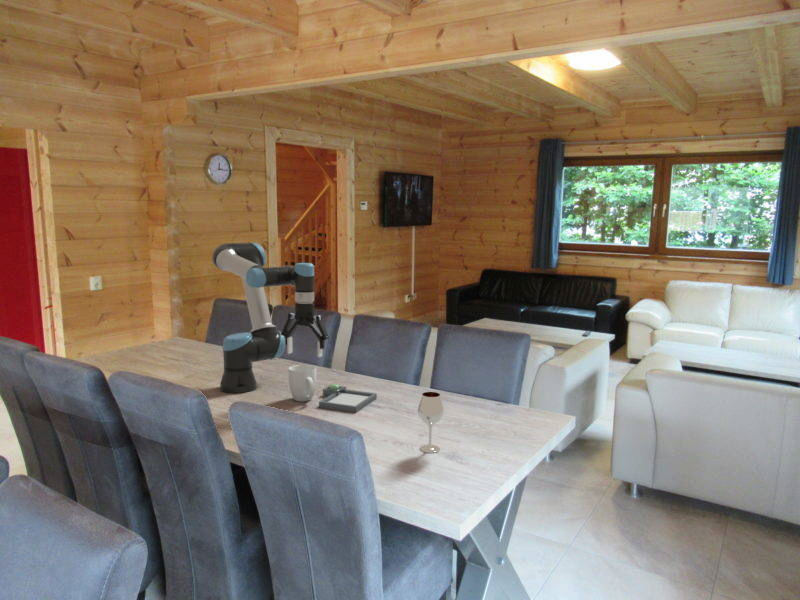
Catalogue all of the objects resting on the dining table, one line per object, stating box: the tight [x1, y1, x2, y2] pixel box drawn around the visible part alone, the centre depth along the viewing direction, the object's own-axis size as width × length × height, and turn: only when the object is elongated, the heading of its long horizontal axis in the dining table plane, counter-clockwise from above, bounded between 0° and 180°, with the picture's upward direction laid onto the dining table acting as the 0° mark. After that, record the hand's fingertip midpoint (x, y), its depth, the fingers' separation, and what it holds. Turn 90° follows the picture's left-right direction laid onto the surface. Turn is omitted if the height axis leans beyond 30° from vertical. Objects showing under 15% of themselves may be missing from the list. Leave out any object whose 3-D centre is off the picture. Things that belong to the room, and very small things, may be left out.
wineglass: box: [417, 391, 445, 454], centre depth 185 cm, size 8×8×18 cm
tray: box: [318, 388, 378, 413], centre depth 232 cm, size 16×19×2 cm
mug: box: [288, 364, 318, 403], centre depth 233 cm, size 15×11×13 cm
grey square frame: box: [322, 385, 347, 398], centre depth 242 cm, size 7×7×3 cm
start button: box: [329, 383, 340, 390], centre depth 241 cm, size 4×4×2 cm
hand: (304, 354), depth 233 cm, fingers open, 13 cm apart
